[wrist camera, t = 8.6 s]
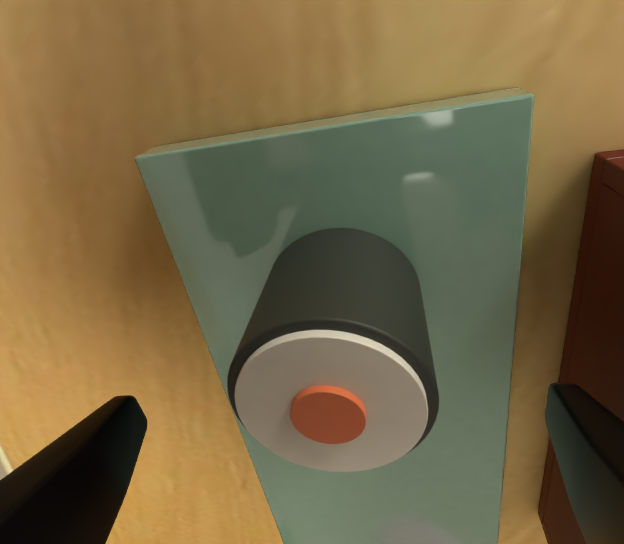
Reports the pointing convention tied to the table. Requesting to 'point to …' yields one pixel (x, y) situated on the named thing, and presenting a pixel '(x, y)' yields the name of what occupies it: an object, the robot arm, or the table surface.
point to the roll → (337, 355)
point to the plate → (423, 256)
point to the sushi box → (592, 328)
